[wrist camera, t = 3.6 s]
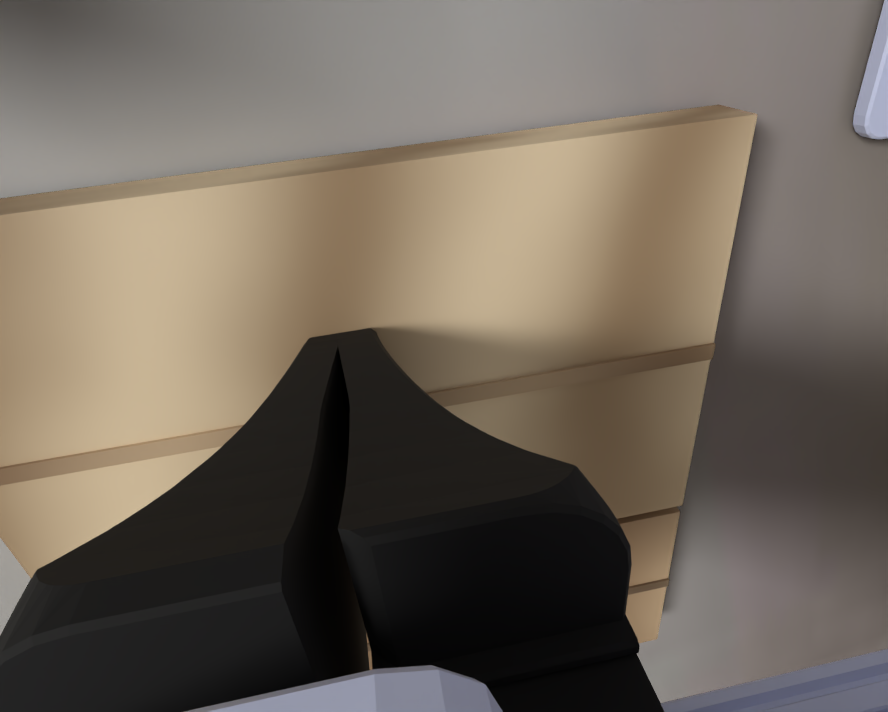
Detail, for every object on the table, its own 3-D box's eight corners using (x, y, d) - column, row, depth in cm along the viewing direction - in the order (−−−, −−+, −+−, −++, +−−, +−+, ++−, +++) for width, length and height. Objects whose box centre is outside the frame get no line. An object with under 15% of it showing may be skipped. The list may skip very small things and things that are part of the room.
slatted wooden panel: (718, 104, 11) (760, 114, 10) (660, 474, 17) (683, 507, 15) (-162, 219, 10) (-224, 245, 9) (87, 588, 15) (68, 632, 14)
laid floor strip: (658, 481, 17) (681, 513, 16) (640, 607, 20) (658, 641, 19) (93, 593, 15) (74, 637, 14) (169, 710, 18) (159, 754, 17)
